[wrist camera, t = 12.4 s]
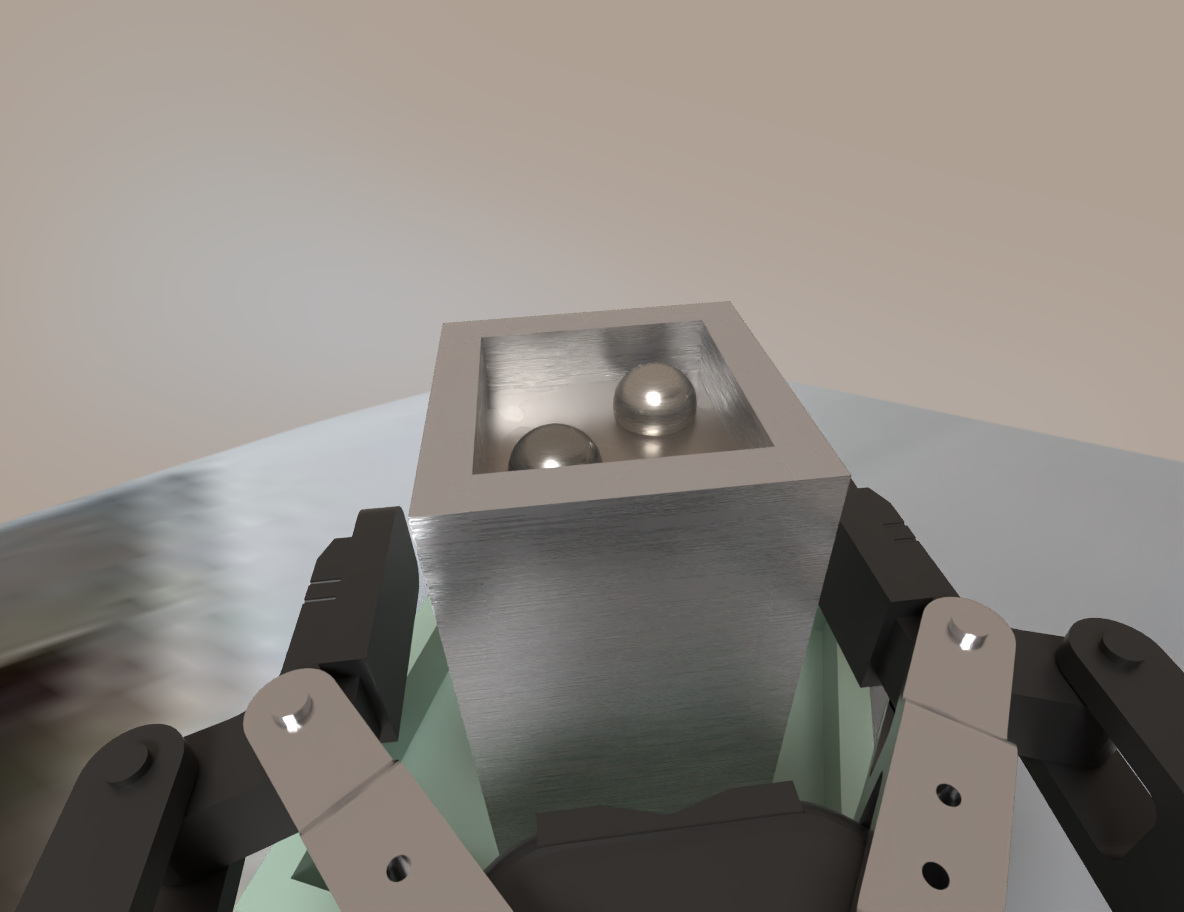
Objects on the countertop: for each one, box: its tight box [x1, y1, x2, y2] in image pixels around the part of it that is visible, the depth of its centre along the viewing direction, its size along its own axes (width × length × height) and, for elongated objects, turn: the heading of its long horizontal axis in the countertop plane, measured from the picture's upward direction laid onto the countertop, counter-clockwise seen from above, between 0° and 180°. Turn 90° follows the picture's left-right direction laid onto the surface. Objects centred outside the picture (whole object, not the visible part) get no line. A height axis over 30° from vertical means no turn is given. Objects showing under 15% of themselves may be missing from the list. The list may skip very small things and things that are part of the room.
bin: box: [234, 594, 874, 912], centre depth 18 cm, size 13×13×3 cm
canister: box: [408, 301, 851, 855], centre depth 15 cm, size 6×6×12 cm
